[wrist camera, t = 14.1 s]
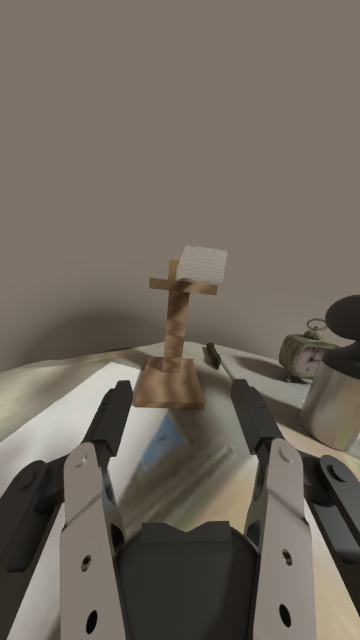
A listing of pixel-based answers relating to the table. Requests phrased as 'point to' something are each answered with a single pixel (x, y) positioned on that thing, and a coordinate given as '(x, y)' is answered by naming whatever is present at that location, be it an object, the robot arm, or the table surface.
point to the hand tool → (214, 355)
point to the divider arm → (198, 265)
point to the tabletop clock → (304, 352)
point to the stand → (173, 355)
